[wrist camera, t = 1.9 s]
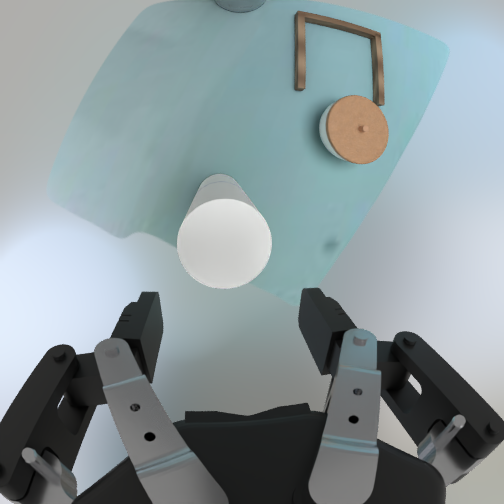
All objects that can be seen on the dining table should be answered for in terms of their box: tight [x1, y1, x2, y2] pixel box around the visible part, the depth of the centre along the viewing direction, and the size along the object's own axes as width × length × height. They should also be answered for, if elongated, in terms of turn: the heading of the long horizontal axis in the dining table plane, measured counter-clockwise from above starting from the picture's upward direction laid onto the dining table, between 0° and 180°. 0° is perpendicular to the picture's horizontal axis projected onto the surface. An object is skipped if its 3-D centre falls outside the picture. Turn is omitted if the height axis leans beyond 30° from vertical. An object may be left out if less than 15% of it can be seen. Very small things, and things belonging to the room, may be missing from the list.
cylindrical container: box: [177, 174, 272, 289], centre depth 32 cm, size 7×7×25 cm
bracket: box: [295, 11, 384, 106], centre depth 36 cm, size 16×16×2 cm
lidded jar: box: [319, 95, 388, 164], centre depth 38 cm, size 11×11×9 cm
